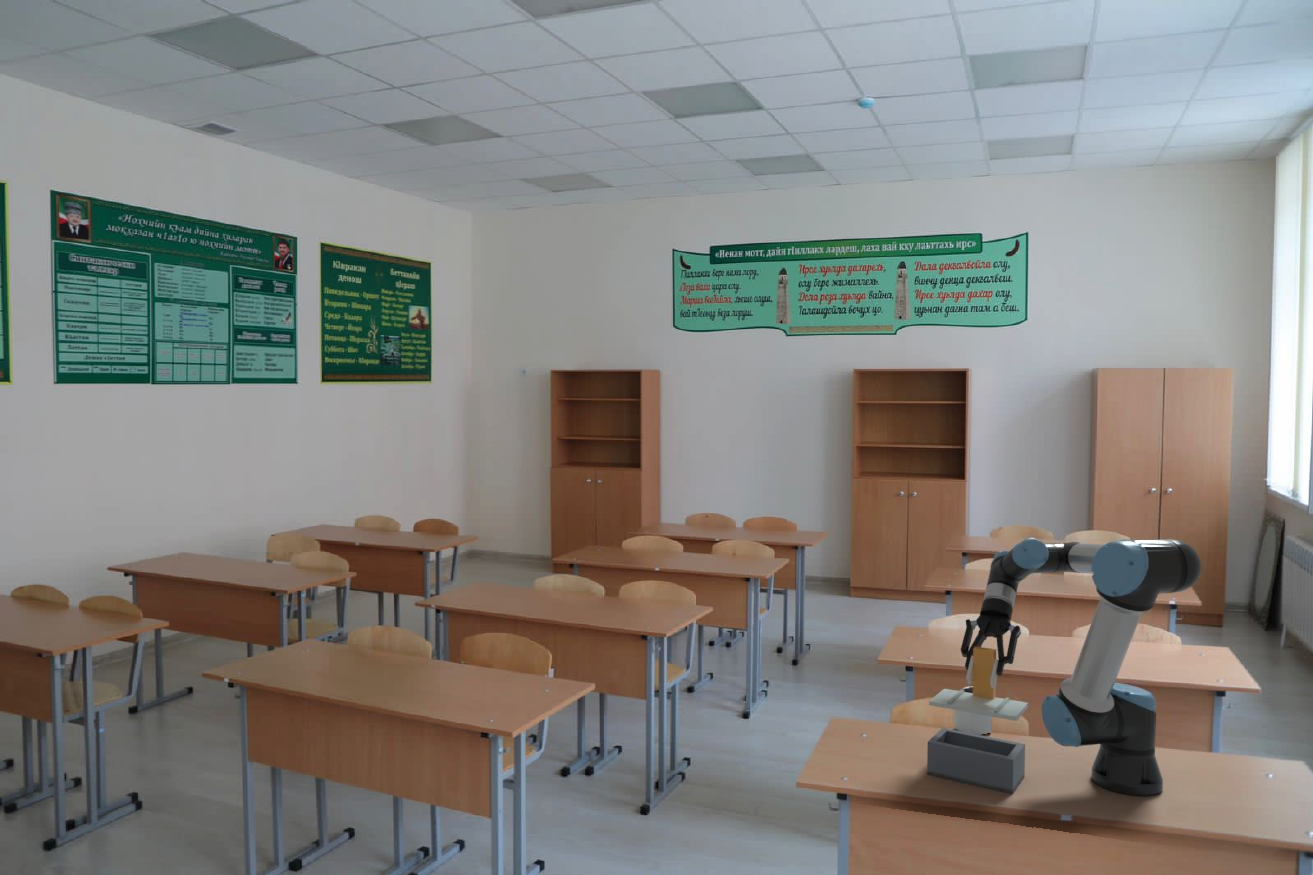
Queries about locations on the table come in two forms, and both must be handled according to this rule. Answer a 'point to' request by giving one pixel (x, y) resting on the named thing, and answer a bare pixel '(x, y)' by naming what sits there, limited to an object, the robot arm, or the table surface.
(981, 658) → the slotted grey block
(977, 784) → the tub
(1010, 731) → the table surface
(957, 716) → the medicine bottle
